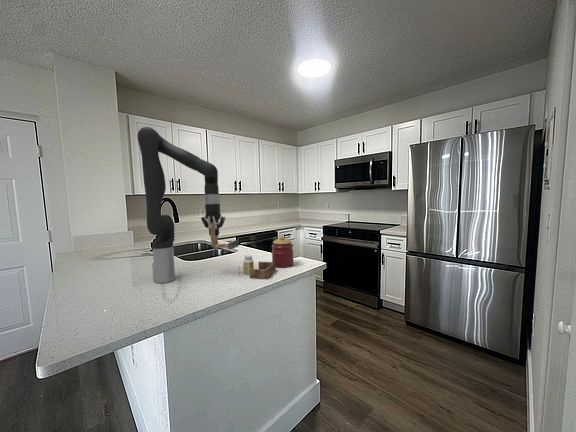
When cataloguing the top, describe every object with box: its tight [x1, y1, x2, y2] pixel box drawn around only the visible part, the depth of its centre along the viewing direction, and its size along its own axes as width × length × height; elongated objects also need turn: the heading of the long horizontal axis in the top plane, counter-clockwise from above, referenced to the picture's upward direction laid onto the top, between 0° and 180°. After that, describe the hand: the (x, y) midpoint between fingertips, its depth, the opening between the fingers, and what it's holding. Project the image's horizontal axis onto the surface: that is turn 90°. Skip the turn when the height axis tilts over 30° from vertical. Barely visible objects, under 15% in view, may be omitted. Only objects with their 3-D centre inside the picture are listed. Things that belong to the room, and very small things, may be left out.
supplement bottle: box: [243, 254, 255, 276], centre depth 133 cm, size 5×5×10 cm
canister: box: [271, 235, 294, 269], centre depth 147 cm, size 13×13×18 cm
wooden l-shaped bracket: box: [210, 222, 240, 250], centre depth 129 cm, size 13×8×13 cm, turn 76°
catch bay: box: [249, 261, 277, 280], centre depth 131 cm, size 10×15×4 cm, turn 167°
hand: (214, 235), depth 131 cm, fingers closed on wooden l-shaped bracket, 2 cm apart
